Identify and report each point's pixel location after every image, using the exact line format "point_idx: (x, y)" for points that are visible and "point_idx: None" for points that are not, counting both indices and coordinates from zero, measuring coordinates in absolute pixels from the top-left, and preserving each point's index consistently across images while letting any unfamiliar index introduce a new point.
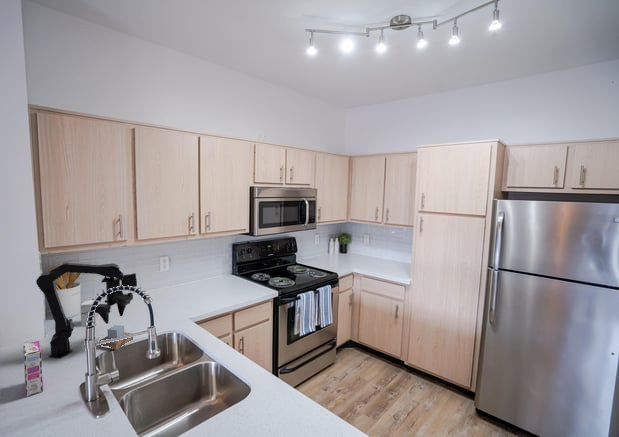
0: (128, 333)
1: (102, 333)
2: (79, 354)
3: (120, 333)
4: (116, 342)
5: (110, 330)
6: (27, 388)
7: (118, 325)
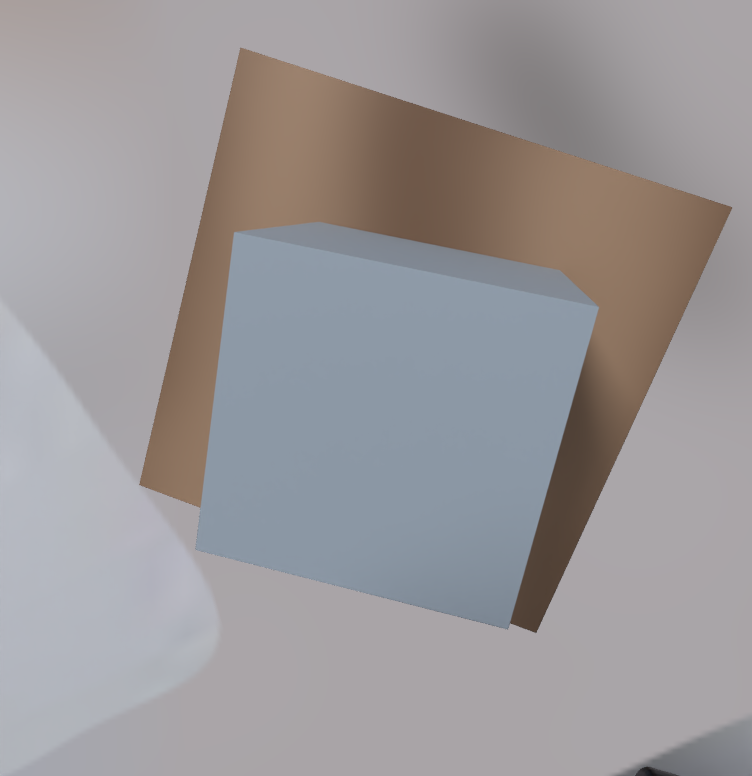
0: (232, 170)
1: (76, 716)
2: (748, 739)
3: (437, 255)
4: (701, 215)
5: (536, 521)
6: None
7: (223, 433)
